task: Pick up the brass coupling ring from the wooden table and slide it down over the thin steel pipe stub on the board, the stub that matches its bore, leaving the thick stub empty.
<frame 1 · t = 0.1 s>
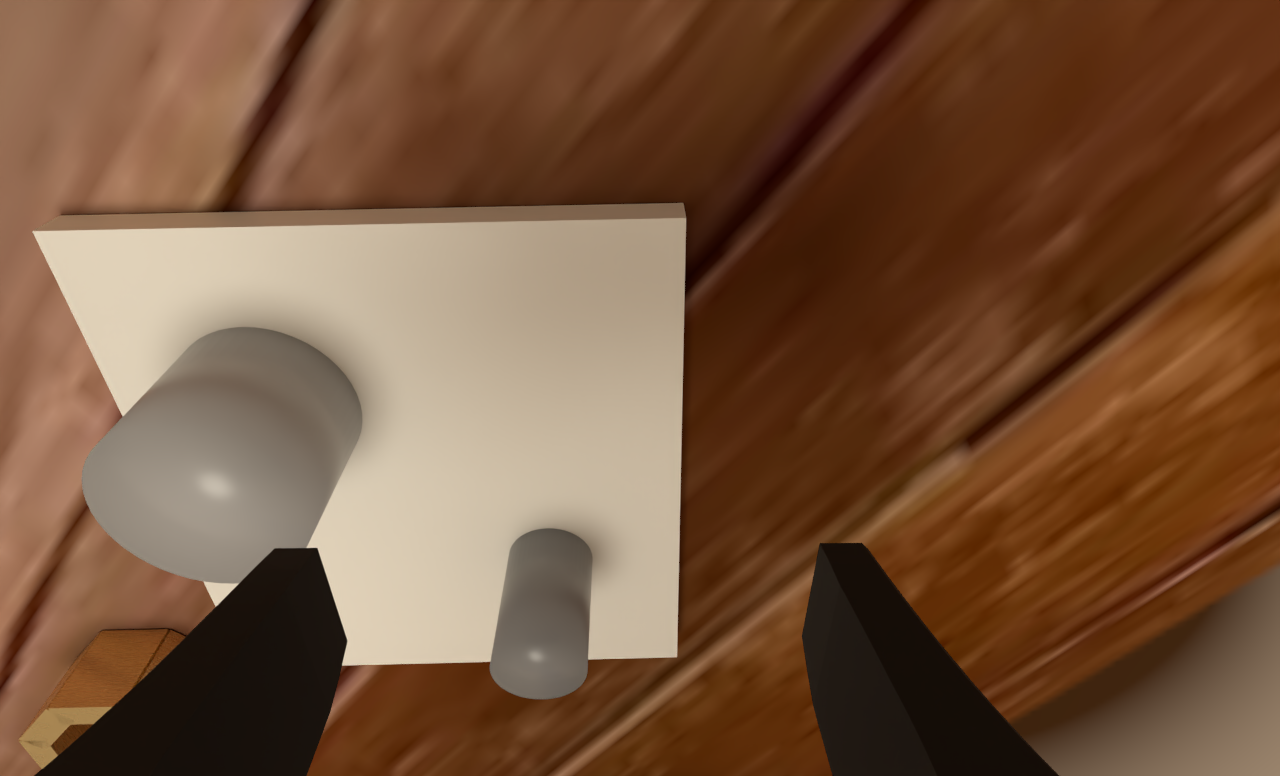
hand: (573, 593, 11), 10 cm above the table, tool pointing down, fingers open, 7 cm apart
coupling ring: (165, 680, 28), on the table
stub board: (428, 466, 23), on the table
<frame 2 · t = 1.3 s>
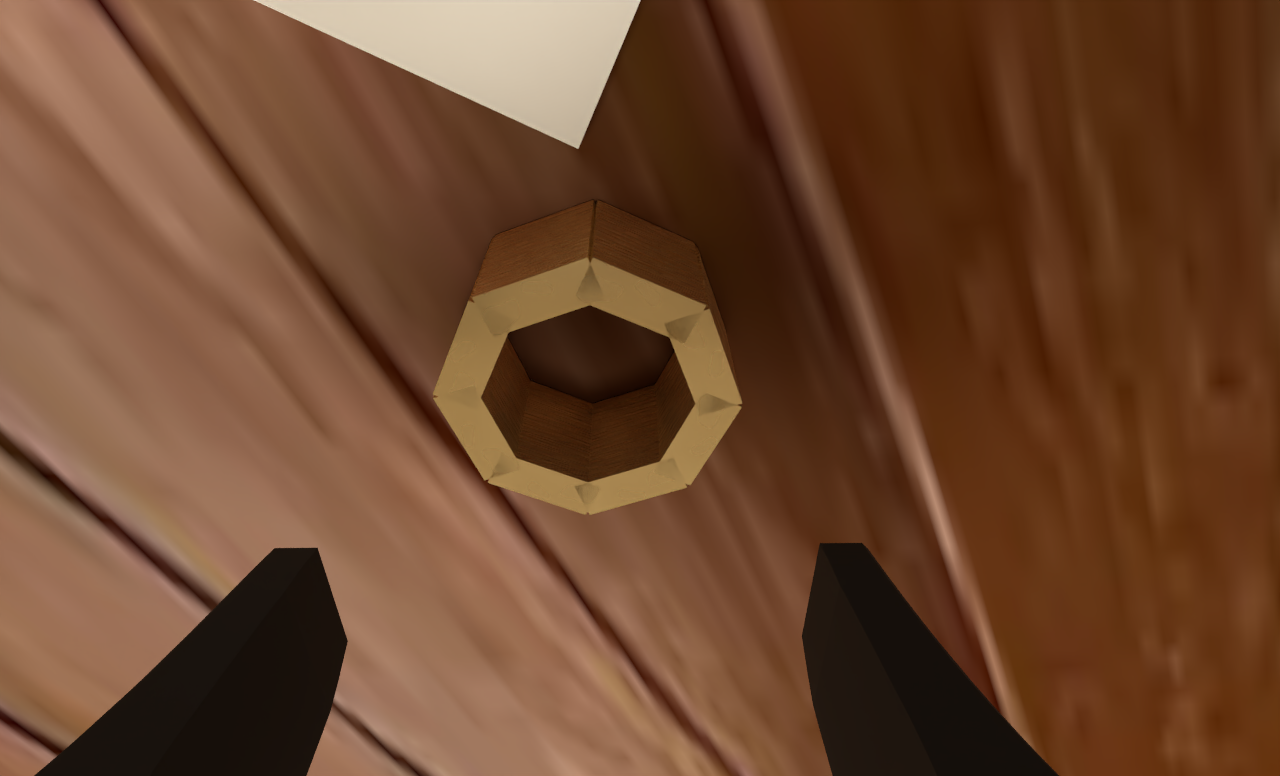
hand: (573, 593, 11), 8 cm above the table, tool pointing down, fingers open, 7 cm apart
coupling ring: (593, 328, 18), on the table
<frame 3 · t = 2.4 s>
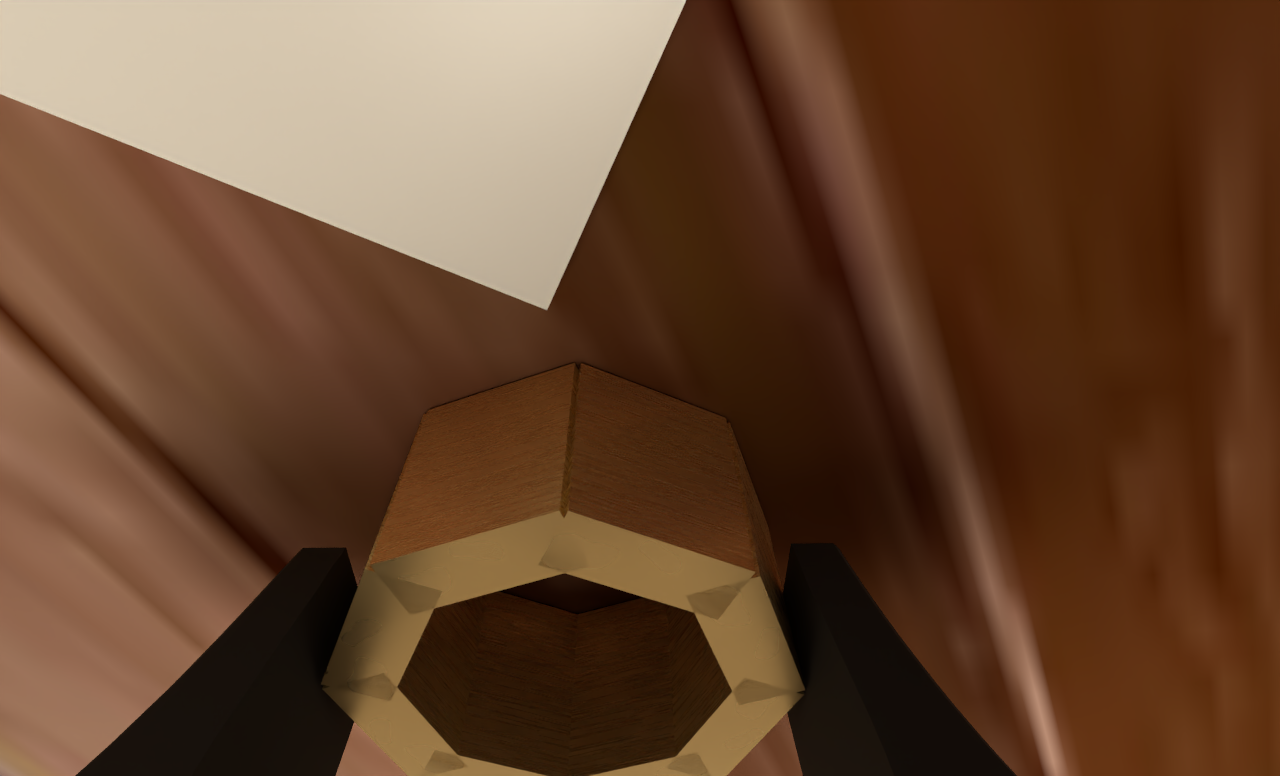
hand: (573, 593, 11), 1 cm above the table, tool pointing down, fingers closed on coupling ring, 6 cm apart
coupling ring: (577, 525, 12), on the table, touching gripper
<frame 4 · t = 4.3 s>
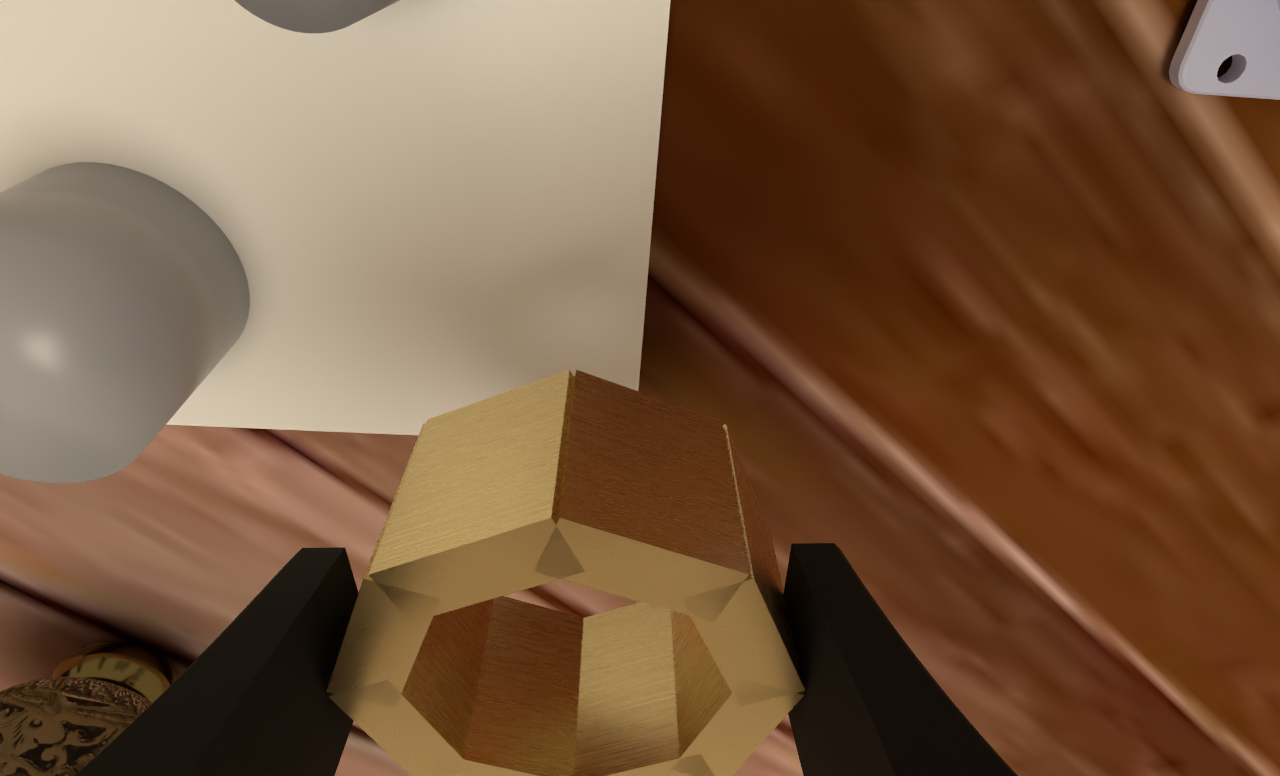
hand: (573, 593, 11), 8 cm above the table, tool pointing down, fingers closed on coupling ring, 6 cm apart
coupling ring: (579, 530, 12), point 7 cm above the table, touching gripper
stub board: (260, 102, 15), on the table
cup: (132, 662, 25), on the table
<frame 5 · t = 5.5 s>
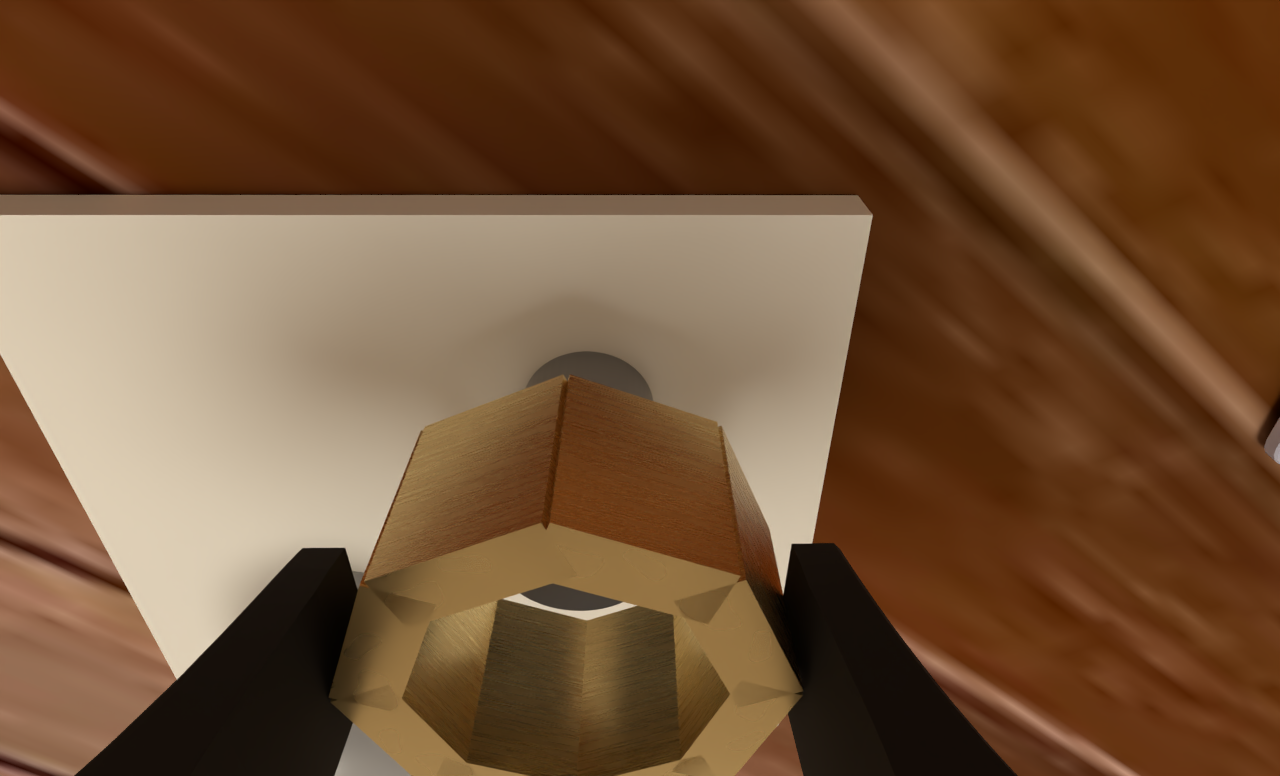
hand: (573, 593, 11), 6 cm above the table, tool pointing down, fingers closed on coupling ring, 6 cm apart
coupling ring: (579, 533, 12), point 4 cm above the table, touching gripper
stub board: (467, 504, 18), on the table
when the fingers open (4 cm above the table, at t = 6.6 s): coupling ring drops 1 cm, resting on stub board.
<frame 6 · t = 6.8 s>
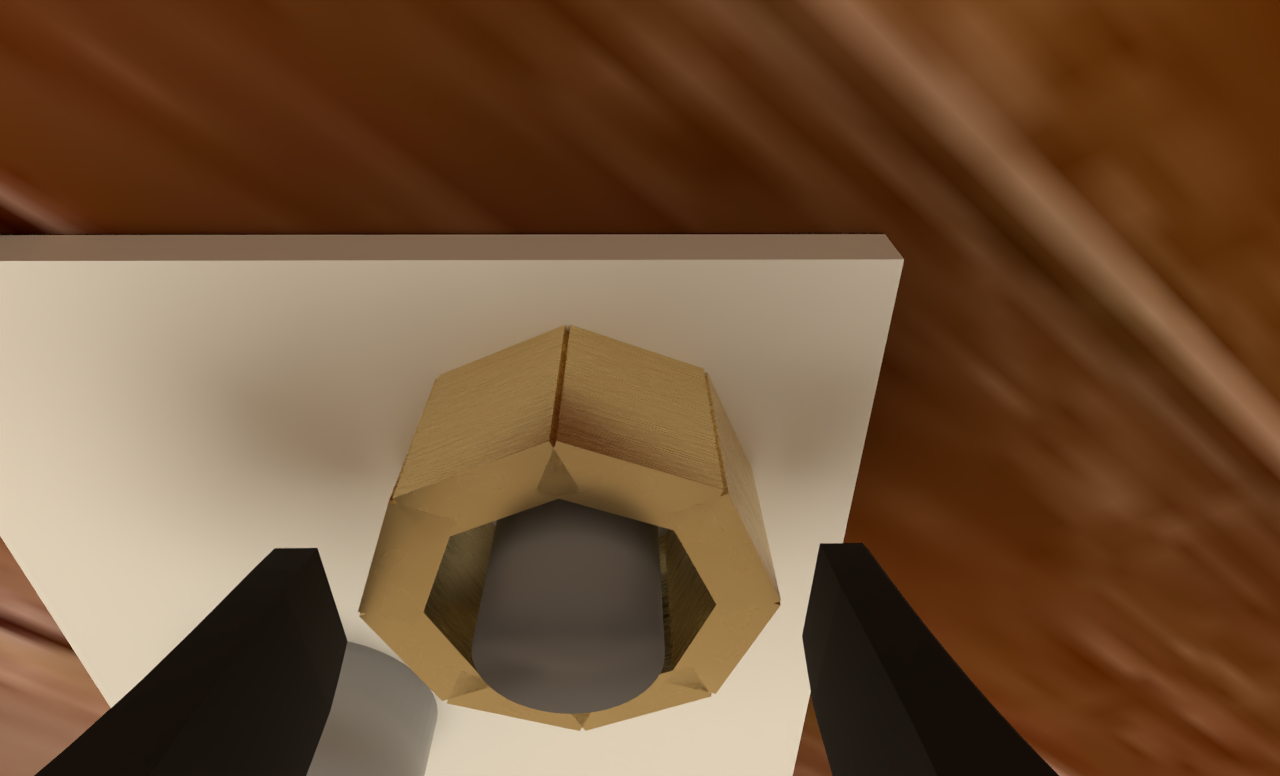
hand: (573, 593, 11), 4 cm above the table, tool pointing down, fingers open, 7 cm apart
coupling ring: (579, 476, 14), point 1 cm above the table, touching stub board
stub board: (450, 563, 16), on the table
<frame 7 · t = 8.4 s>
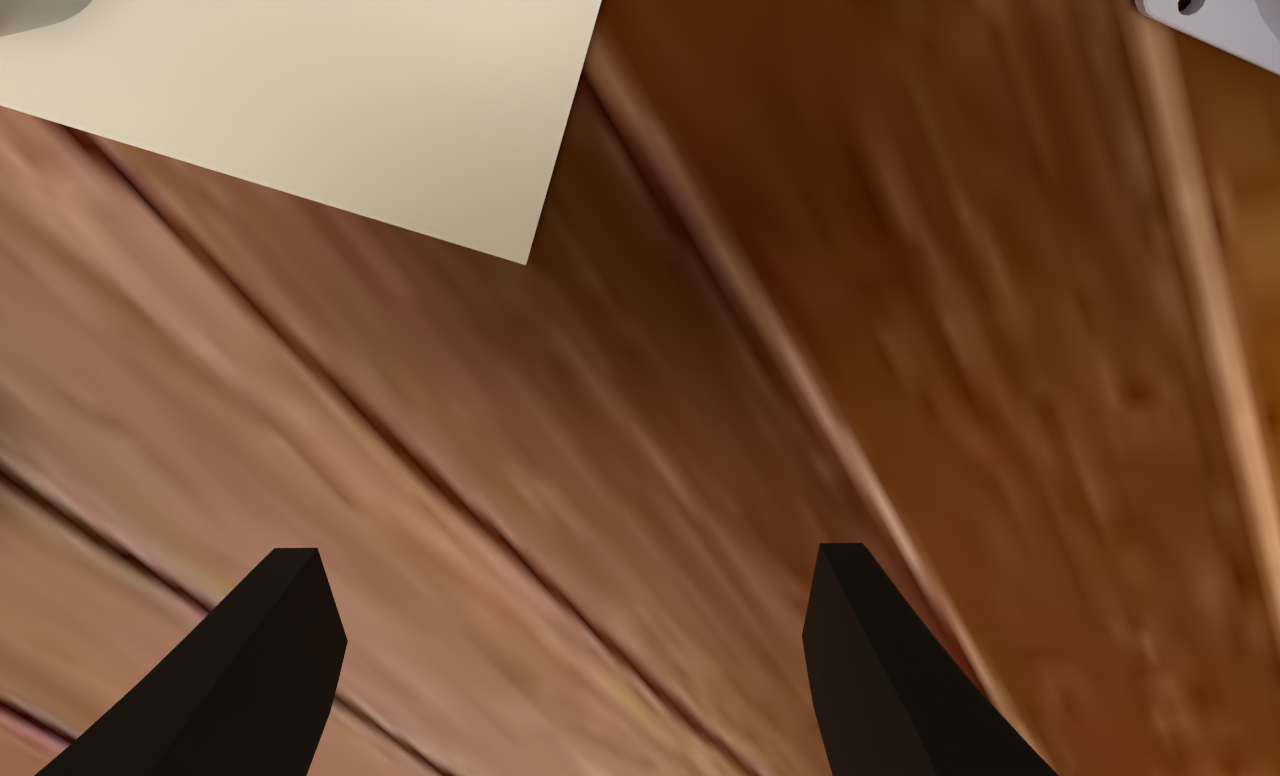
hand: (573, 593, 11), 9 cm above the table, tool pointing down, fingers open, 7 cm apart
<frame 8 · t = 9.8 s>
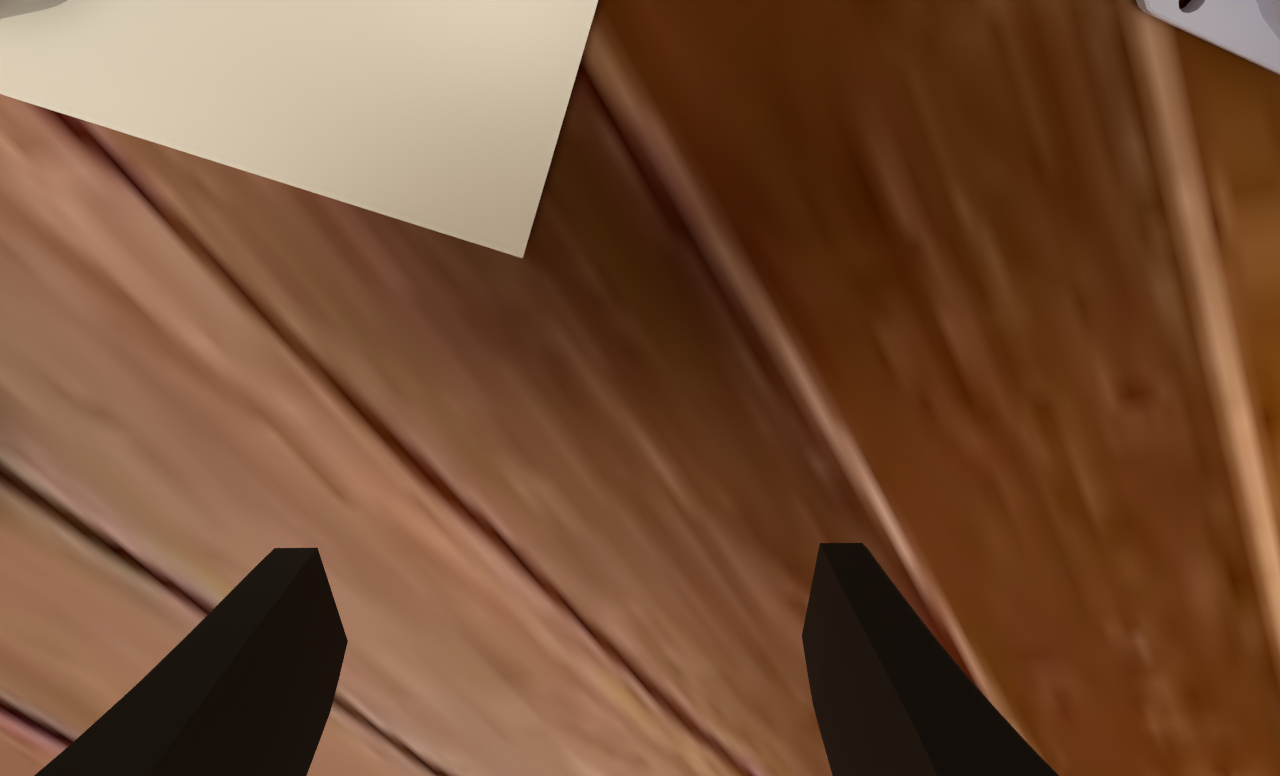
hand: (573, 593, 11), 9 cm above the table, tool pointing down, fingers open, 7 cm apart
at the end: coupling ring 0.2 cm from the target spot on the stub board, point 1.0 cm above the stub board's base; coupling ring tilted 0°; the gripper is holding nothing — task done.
